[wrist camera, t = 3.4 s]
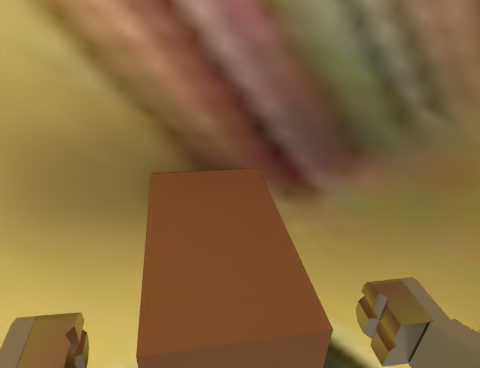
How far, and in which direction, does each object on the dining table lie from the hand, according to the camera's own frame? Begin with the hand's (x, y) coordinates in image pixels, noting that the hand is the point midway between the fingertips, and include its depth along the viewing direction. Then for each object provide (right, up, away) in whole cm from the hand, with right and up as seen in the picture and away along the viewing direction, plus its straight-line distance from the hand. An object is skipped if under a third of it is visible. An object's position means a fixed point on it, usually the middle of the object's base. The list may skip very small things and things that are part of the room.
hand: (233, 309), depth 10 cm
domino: (-1, +3, +7) cm, 8 cm away
